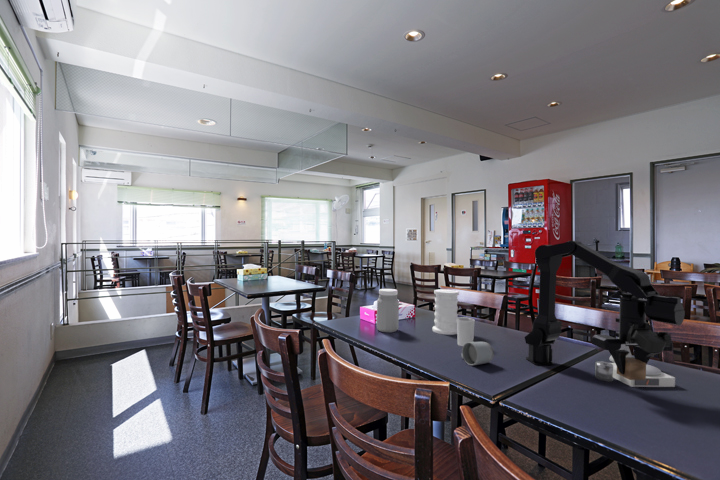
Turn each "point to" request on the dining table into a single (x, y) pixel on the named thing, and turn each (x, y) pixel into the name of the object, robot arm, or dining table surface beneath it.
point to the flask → (626, 355)
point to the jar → (387, 310)
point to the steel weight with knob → (604, 371)
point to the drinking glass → (465, 330)
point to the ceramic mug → (477, 353)
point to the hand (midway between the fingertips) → (630, 373)
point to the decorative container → (445, 311)
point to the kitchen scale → (647, 378)
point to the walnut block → (634, 369)
